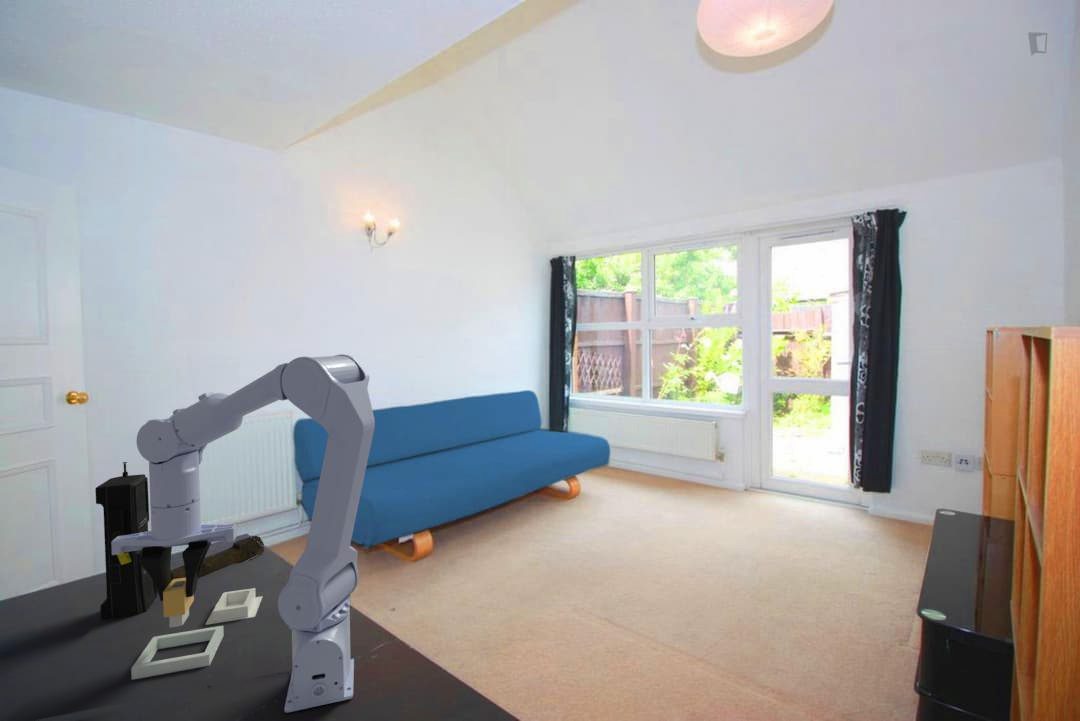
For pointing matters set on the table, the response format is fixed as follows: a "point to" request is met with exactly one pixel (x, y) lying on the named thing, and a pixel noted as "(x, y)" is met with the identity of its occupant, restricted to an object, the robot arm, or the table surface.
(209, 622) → the white open box
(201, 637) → the parts tray
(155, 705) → the table surface
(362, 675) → the table surface
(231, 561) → the dark brown log
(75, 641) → the table surface
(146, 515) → the portable radio
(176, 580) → the block
